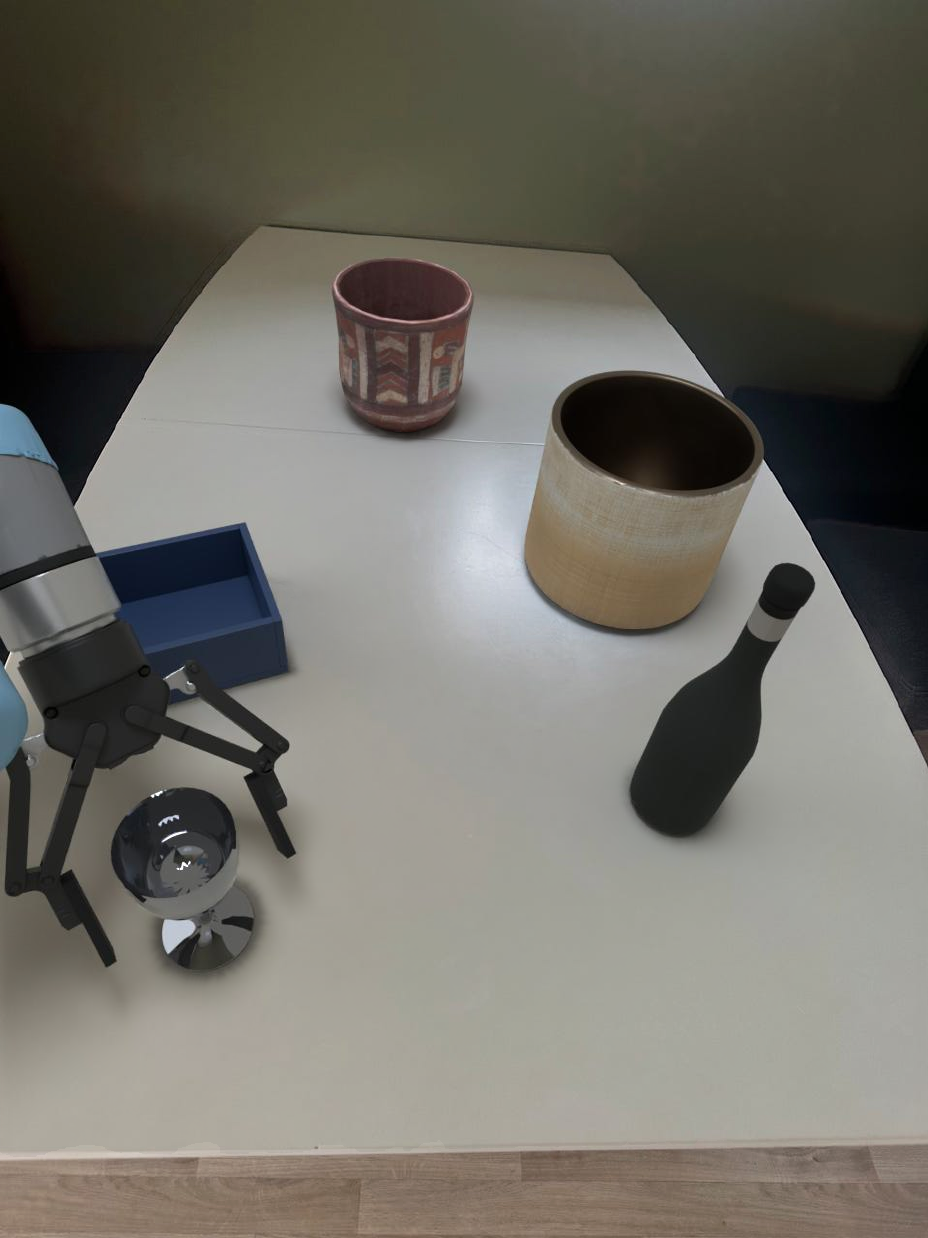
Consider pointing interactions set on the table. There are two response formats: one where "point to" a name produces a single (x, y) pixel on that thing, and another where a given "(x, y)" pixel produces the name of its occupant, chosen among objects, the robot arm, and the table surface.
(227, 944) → the wine glass
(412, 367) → the pottery
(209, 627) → the bin
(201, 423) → the table surface
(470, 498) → the table surface
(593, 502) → the planter
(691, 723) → the wine bottle
